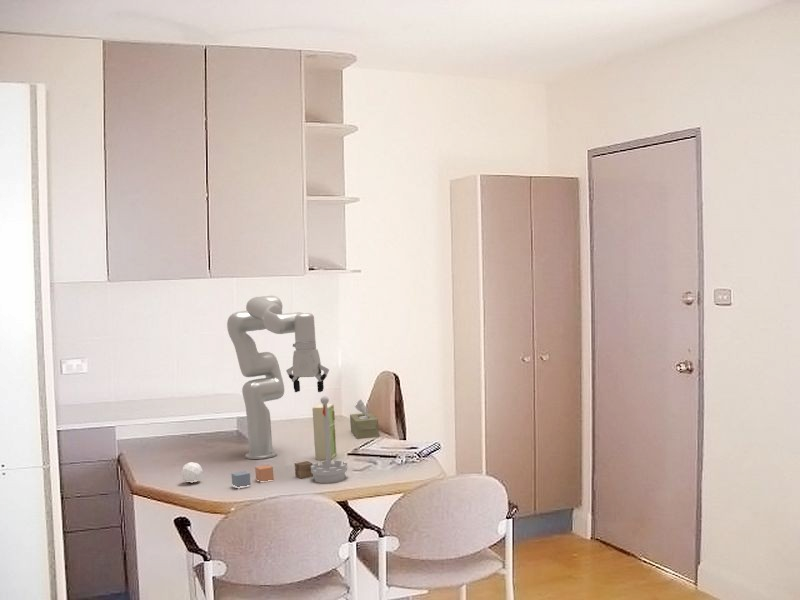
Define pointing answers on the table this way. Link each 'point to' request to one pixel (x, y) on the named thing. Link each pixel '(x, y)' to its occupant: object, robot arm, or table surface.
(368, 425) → the tissue box
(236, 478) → the slate-grey block
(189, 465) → the geometric ball
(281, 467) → the table surface
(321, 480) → the flag stand
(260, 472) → the terracotta block
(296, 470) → the walnut block
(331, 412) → the green and beige carton
